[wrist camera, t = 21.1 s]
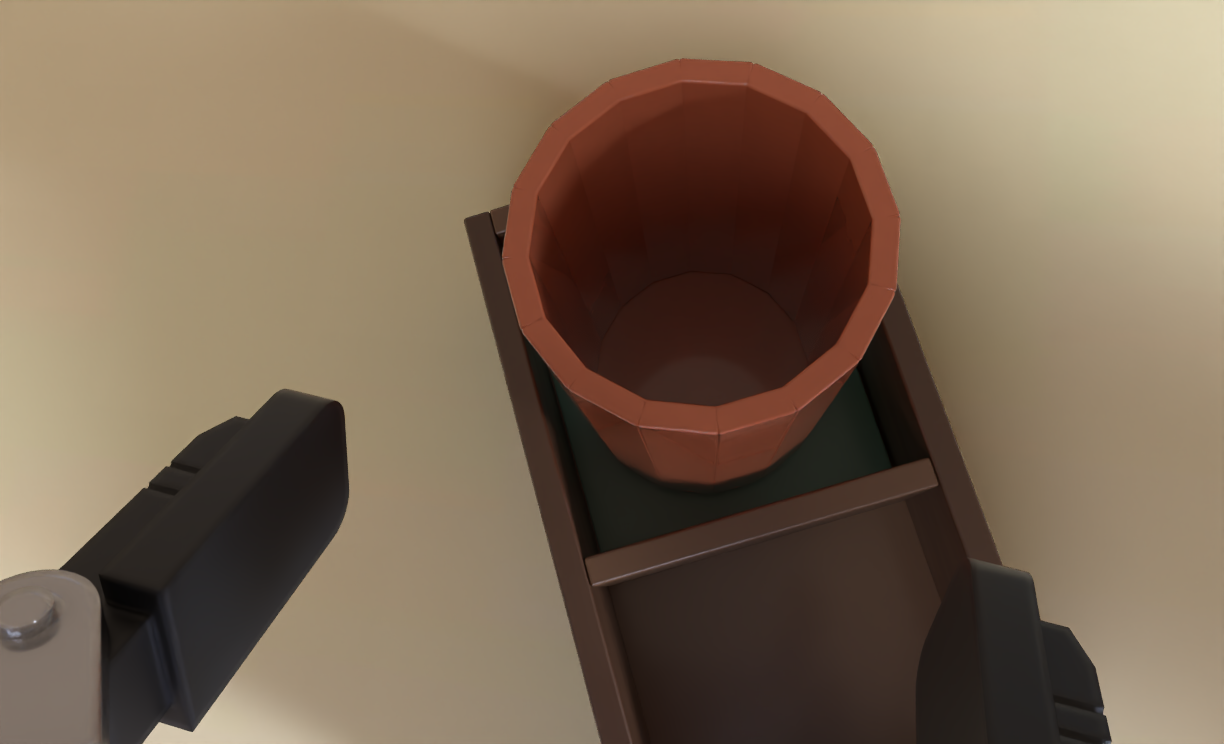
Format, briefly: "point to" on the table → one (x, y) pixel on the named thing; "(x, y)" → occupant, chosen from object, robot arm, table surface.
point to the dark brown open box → (752, 554)
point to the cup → (702, 265)
